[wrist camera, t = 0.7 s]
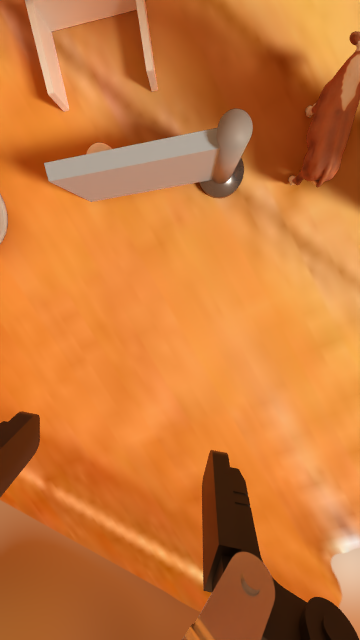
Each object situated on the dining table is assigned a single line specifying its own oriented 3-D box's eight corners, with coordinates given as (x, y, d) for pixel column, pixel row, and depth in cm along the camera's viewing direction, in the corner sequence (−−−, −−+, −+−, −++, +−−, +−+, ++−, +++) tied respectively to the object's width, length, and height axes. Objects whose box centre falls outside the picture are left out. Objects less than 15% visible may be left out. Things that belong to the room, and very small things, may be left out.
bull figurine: (351, 79, 28) (411, 14, 21) (308, 199, 32) (345, 183, 24) (316, 70, 28) (363, 1, 21) (277, 191, 32) (304, 172, 24)
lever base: (240, 143, 31) (241, 141, 30) (244, 194, 32) (245, 192, 32) (195, 152, 31) (195, 150, 31) (200, 201, 33) (200, 200, 32)
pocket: (144, -2, 27) (138, -38, 24) (158, 90, 30) (153, 69, 26) (43, 24, 29) (23, -6, 25) (63, 111, 31) (47, 94, 28)
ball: (118, 147, 32) (108, 133, 28) (125, 180, 33) (116, 171, 29) (90, 153, 32) (76, 140, 28) (97, 185, 33) (84, 177, 29)
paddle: (231, 155, 30) (251, 105, 20) (233, 181, 31) (253, 146, 21) (86, 183, 32) (34, 150, 22) (92, 207, 33) (44, 186, 22)
